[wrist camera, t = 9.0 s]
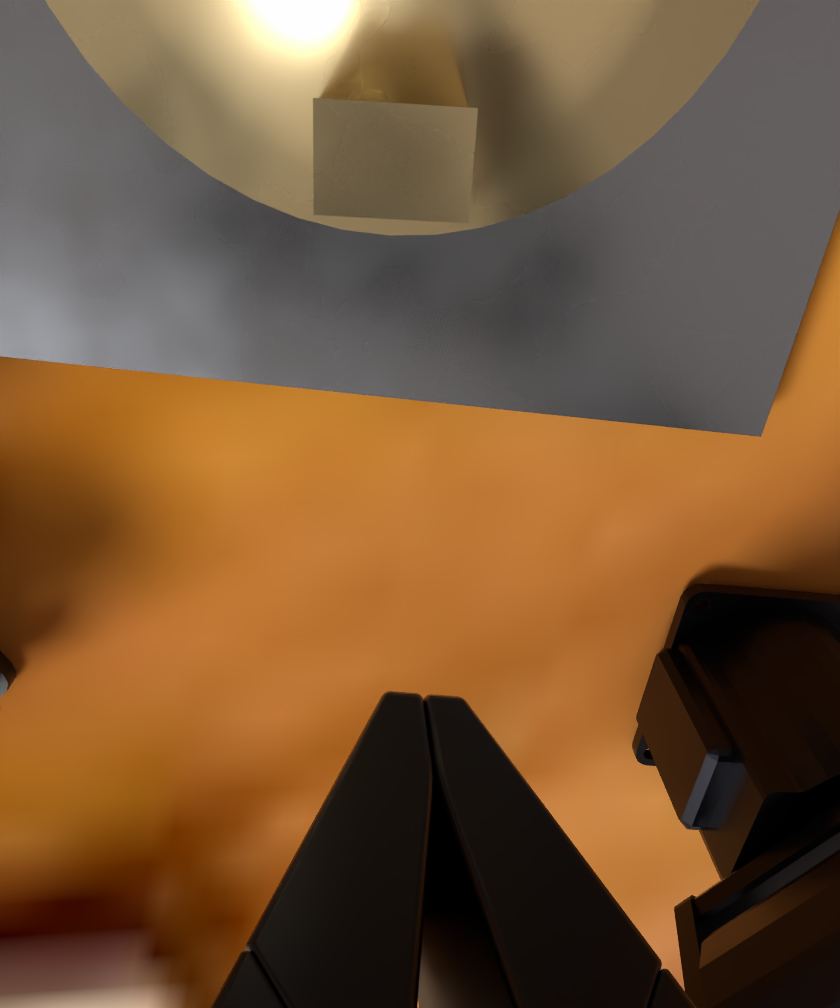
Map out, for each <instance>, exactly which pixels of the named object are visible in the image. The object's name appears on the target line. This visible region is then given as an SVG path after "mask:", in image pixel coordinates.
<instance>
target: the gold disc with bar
mask: <svg viewBox="0 0 840 1008" xmlns="http://www.w3.org/2000/svg"><path fill="white" fill-rule="evenodd" d="M45 1H46V2H47V4H48V6H49V8H50V9H51V10H52V12H53V13H54V15H55V16H56V18H57V19H58V21H59V22H60V24H61V25H62V26H63V28H64V29H65V31H66V32H67V34H68V35H69V37H70V38H71V39H72V41H73V42H74V44H75V45H76V47H77V48H78V50H79V51H80V53H81V54H82V55H83V57H84V58H85V60H86V61H87V62H88V63H89V64H90V65H91V67H92V68H93V69H94V70H95V71H96V72H97V74H98V75H99V76H100V77H101V78H102V79H103V81H104V82H105V83H106V84H107V85H108V86H109V88H110V89H111V90H112V91H113V92H114V93H115V94H116V96H117V97H118V98H119V99H120V100H121V101H122V103H123V104H124V105H125V106H126V107H127V108H128V109H130V110H131V111H132V112H133V113H134V114H135V115H136V116H137V117H138V118H139V119H140V120H141V121H142V122H143V123H145V124H146V125H147V126H148V127H149V128H150V129H151V130H152V131H153V132H154V133H155V134H156V135H157V136H158V137H160V138H161V139H162V140H163V141H164V142H165V143H166V144H168V145H169V146H170V147H172V148H173V149H174V150H176V151H177V152H178V153H180V154H181V155H183V156H184V157H185V158H187V159H188V160H189V161H191V162H192V163H193V164H195V165H196V166H197V167H199V168H200V169H202V170H203V171H204V172H206V173H207V174H208V175H210V176H212V177H214V178H215V179H217V180H219V181H221V182H223V183H224V184H226V185H228V186H230V187H231V188H233V189H235V190H237V191H239V192H240V193H242V194H244V195H246V196H247V197H249V198H251V199H253V200H255V201H258V202H260V203H263V204H265V205H267V206H270V207H272V208H275V209H277V210H280V211H282V212H285V213H287V214H290V215H292V216H294V217H297V218H300V219H304V220H308V221H312V222H316V223H319V224H323V225H327V226H331V227H335V228H338V229H342V230H349V231H357V232H365V233H374V234H382V235H437V234H444V233H450V232H456V231H463V230H469V229H476V228H482V227H485V226H488V225H492V224H495V223H499V222H502V221H505V220H509V219H512V218H515V217H519V216H522V215H526V214H528V213H530V212H532V211H535V210H537V209H539V208H541V207H543V206H546V205H548V204H550V203H552V202H555V201H557V200H559V199H561V198H564V197H566V196H568V195H570V194H572V193H573V192H575V191H577V190H578V189H580V188H582V187H583V186H585V185H586V184H588V183H590V182H591V181H593V180H595V179H596V178H598V177H600V176H601V175H603V174H604V173H606V172H608V171H609V170H611V169H612V168H614V167H615V166H616V165H617V164H619V163H620V162H621V161H623V160H624V159H625V158H626V157H628V156H629V155H630V154H631V153H633V152H634V151H635V150H636V149H638V148H639V147H640V146H641V145H643V144H644V143H645V142H647V141H648V140H649V139H650V138H652V137H653V136H654V135H655V134H656V133H657V132H658V131H659V130H660V129H661V128H662V127H663V126H664V125H665V124H666V123H667V122H668V121H669V120H670V119H671V118H672V117H673V116H674V115H675V114H676V113H677V112H678V111H679V110H680V109H681V108H682V107H683V106H684V105H685V104H686V103H687V102H688V101H689V100H690V99H691V97H692V96H693V95H694V94H695V92H696V91H697V90H698V89H699V87H700V86H701V85H702V84H703V82H704V81H705V80H706V79H707V77H708V76H709V75H710V74H711V72H712V71H713V70H714V68H715V67H716V66H717V65H718V63H719V62H720V61H721V60H722V58H723V57H724V56H725V55H726V53H727V52H728V50H729V49H730V47H731V45H732V44H733V42H734V41H735V39H736V38H737V36H738V35H739V33H740V31H741V30H742V28H743V27H744V25H745V24H746V22H747V20H748V19H749V17H750V16H751V14H752V13H753V11H754V9H755V8H756V6H757V5H758V3H759V1H760V0H45Z"/></svg>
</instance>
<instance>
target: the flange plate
mask: <svg viewBox="0 0 840 1008" xmlns="http://www.w3.org/2000/svg"><path fill="white" fill-rule="evenodd" d="M839 211H840V0H760V1H759V3H758V5H757V6H756V8H755V9H754V11H753V13H752V14H751V16H750V17H749V19H748V20H747V22H746V24H745V25H744V27H743V28H742V30H741V31H740V33H739V35H738V36H737V38H736V39H735V41H734V42H733V44H732V45H731V47H730V49H729V50H728V52H727V53H726V55H725V56H724V57H723V58H722V60H721V61H720V62H719V63H718V65H717V66H716V67H715V68H714V70H713V71H712V72H711V74H710V75H709V76H708V77H707V79H706V80H705V81H704V82H703V84H702V85H701V86H700V87H699V89H698V90H697V91H696V92H695V94H694V95H693V96H692V97H691V99H690V100H689V101H688V102H687V103H686V104H685V105H684V106H683V107H682V108H681V109H680V110H679V111H678V112H677V113H676V114H675V115H674V116H673V117H672V118H671V119H670V120H669V121H668V122H667V123H666V124H665V125H664V126H663V127H662V128H661V129H660V130H659V131H658V132H657V133H656V134H655V135H654V136H653V137H652V138H650V139H649V140H648V141H647V142H645V143H644V144H643V145H641V146H640V147H639V148H638V149H636V150H635V151H634V152H633V153H631V154H630V155H629V156H628V157H626V158H625V159H624V160H623V161H621V162H620V163H619V164H617V165H616V166H615V167H614V168H612V169H611V170H609V171H608V172H606V173H604V174H603V175H601V176H600V177H598V178H596V179H595V180H593V181H591V182H590V183H588V184H586V185H585V186H583V187H582V188H580V189H578V190H577V191H575V192H573V193H572V194H570V195H568V196H566V197H564V198H561V199H559V200H557V201H555V202H552V203H550V204H548V205H546V206H543V207H541V208H539V209H537V210H535V211H532V212H530V213H528V214H526V215H522V216H519V217H515V218H512V219H509V220H505V221H502V222H499V223H495V224H492V225H488V226H485V227H482V228H476V229H469V230H463V231H456V232H450V233H444V234H437V235H382V234H374V233H365V232H357V231H349V230H342V229H338V228H335V227H331V226H327V225H323V224H319V223H316V222H312V221H308V220H304V219H300V218H297V217H294V216H292V215H290V214H287V213H285V212H282V211H280V210H277V209H275V208H272V207H270V206H267V205H265V204H263V203H260V202H258V201H255V200H253V199H251V198H249V197H247V196H246V195H244V194H242V193H240V192H239V191H237V190H235V189H233V188H231V187H230V186H228V185H226V184H224V183H223V182H221V181H219V180H217V179H215V178H214V177H212V176H210V175H208V174H207V173H206V172H204V171H203V170H202V169H200V168H199V167H197V166H196V165H195V164H193V163H192V162H191V161H189V160H188V159H187V158H185V157H184V156H183V155H181V154H180V153H178V152H177V151H176V150H174V149H173V148H172V147H170V146H169V145H168V144H166V143H165V142H164V141H163V140H162V139H161V138H160V137H158V136H157V135H156V134H155V133H154V132H153V131H152V130H151V129H150V128H149V127H148V126H147V125H146V124H145V123H143V122H142V121H141V120H140V119H139V118H138V117H137V116H136V115H135V114H134V113H133V112H132V111H131V110H130V109H128V108H127V107H126V106H125V105H124V104H123V103H122V101H121V100H120V99H119V98H118V97H117V96H116V94H115V93H114V92H113V91H112V90H111V89H110V88H109V86H108V85H107V84H106V83H105V82H104V81H103V79H102V78H101V77H100V76H99V75H98V74H97V72H96V71H95V70H94V69H93V68H92V67H91V65H90V64H89V63H88V62H87V61H86V60H85V58H84V57H83V55H82V54H81V53H80V51H79V50H78V48H77V47H76V45H75V44H74V42H73V41H72V39H71V38H70V37H69V35H68V34H67V32H66V31H65V29H64V28H63V26H62V25H61V24H60V22H59V21H58V19H57V18H56V16H55V15H54V13H53V12H52V10H51V9H50V8H49V6H48V4H47V2H46V1H45V0H0V356H2V357H11V358H21V359H30V360H40V361H49V362H59V363H68V364H78V365H87V366H97V367H106V368H116V369H125V370H135V371H144V372H153V373H163V374H172V375H182V376H191V377H201V378H210V379H220V380H229V381H239V382H248V383H258V384H267V385H277V386H286V387H296V388H305V389H315V390H324V391H333V392H343V393H352V394H362V395H371V396H381V397H390V398H400V399H409V400H419V401H428V402H438V403H447V404H457V405H466V406H476V407H485V408H495V409H504V410H513V411H523V412H532V413H542V414H551V415H561V416H570V417H580V418H589V419H599V420H608V421H618V422H627V423H637V424H646V425H656V426H665V427H675V428H684V429H693V430H703V431H712V432H722V433H731V434H741V435H750V436H760V437H761V435H762V432H763V430H764V427H765V424H766V421H767V418H768V415H769V412H770V409H771V406H772V404H773V401H774V398H775V395H776V392H777V389H778V386H779V383H780V381H781V378H782V375H783V372H784V369H785V366H786V363H787V360H788V357H789V355H790V352H791V349H792V346H793V343H794V340H795V337H796V334H797V332H798V329H799V326H800V323H801V320H802V317H803V314H804V311H805V308H806V306H807V303H808V300H809V297H810V294H811V291H812V288H813V285H814V283H815V280H816V277H817V274H818V271H819V268H820V265H821V262H822V260H823V257H824V254H825V251H826V248H827V245H828V242H829V239H830V236H831V234H832V231H833V228H834V225H835V222H836V219H837V216H838V213H839Z"/></svg>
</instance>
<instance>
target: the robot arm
mask: <svg viewBox="0 0 840 1008" xmlns="http://www.w3.org/2000/svg"><path fill="white" fill-rule="evenodd" d="M700 599H706V600H705V602H704V603H703V604H701V605H699V606H694V605H695V603H696V602H697V601H699V600H700ZM636 719H637V722H638V724H639V725H638V728H637V731H636V734H635V737H634V740H633V743H632V749H633V751H634V754H635V756H636V759H637V761H638V762H640V763H641V764H644V765H650V766H656V767H657V769H658V771H659V774H660V776H661V778H662V781H663V783H664V785H665V788H666V790H667V793H668V795H669V797H670V800H671V802H672V804H673V807H674V809H675V812H676V814H677V816H678V819H679V820H680V822H681V823H682V824H683V825H684V826H685V828H686V829H692V830H699V832H700V834H701V836H702V838H703V841H704V843H705V845H706V847H707V850H708V852H709V854H710V856H711V859H712V861H713V863H714V865H715V868H716V870H717V872H718V874H719V877H720V879H721V881H719V882H718V883H716V884H715V885H713V886H712V887H710V888H709V889H708V890H706V891H705V892H703V893H702V894H700V895H699V896H697V897H695V896H693V895H691V896H690V897H688V898H687V899H685V900H684V901H682V902H681V903H679V904H678V905H677V906H675V907H674V912H675V919H676V927H677V934H678V942H679V949H680V957H681V964H682V972H683V979H684V987H685V991H684V990H683V989H682V987H681V986H680V985H679V983H678V982H677V981H676V979H675V978H674V977H673V975H672V974H671V973H670V971H669V970H667V969H662V970H661V971H660V969H661V965H662V963H661V960H660V959H659V957H658V956H657V955H656V953H655V952H654V951H653V949H652V948H651V947H650V945H649V944H648V943H647V941H646V940H645V939H644V937H643V936H642V935H641V933H640V932H639V931H638V929H637V928H636V927H635V925H634V924H633V923H632V921H631V920H630V919H629V917H628V916H627V915H626V913H625V912H624V911H623V909H622V908H621V907H620V905H619V904H618V903H617V901H616V900H615V899H614V897H613V896H612V895H611V893H610V892H609V891H608V889H607V888H606V887H605V885H604V884H603V883H602V881H601V880H600V879H599V877H598V876H597V875H596V873H595V872H594V871H593V869H592V868H591V867H590V866H589V864H588V863H587V862H586V860H585V859H584V858H583V856H582V855H581V854H580V852H579V851H578V850H577V848H576V847H575V846H574V844H573V843H572V842H571V840H570V839H569V838H568V836H567V835H566V834H565V832H564V831H563V830H562V828H561V827H560V826H559V824H558V823H557V822H556V820H555V819H554V818H553V816H552V815H551V814H550V812H549V811H548V810H547V808H546V807H545V806H544V804H543V803H542V802H541V800H540V799H539V798H538V796H537V795H536V794H535V792H534V791H533V790H532V788H531V787H530V786H529V784H528V783H527V782H526V780H525V779H524V778H523V776H522V775H521V774H520V772H519V771H518V770H517V768H516V767H515V766H514V764H513V763H512V762H511V760H510V759H509V758H508V756H507V755H506V754H505V752H504V751H503V750H502V748H501V747H500V746H499V744H498V743H497V742H496V740H495V739H494V738H493V736H492V735H491V734H490V732H489V731H488V730H487V728H486V727H485V726H484V724H483V723H482V722H481V720H480V719H479V718H478V717H477V715H476V714H475V713H474V711H473V710H472V709H471V707H470V706H469V705H468V703H467V702H466V701H465V700H464V699H463V698H461V697H457V696H445V695H432V694H431V695H427V696H426V697H425V698H424V700H423V698H422V696H421V695H419V694H417V693H406V692H393V691H388V692H386V693H384V694H383V695H382V697H381V699H380V700H379V702H378V704H377V706H376V708H375V709H374V711H373V713H372V715H371V717H370V719H369V720H368V722H367V724H366V726H365V728H364V730H363V731H362V733H361V735H360V737H359V739H358V741H357V742H356V744H355V746H354V748H353V750H352V752H351V753H350V755H349V757H348V759H347V761H346V763H345V764H344V766H343V768H342V770H341V772H340V773H339V775H338V777H337V779H336V781H335V783H334V784H333V786H332V788H331V790H330V792H329V794H328V795H327V797H326V799H325V801H324V803H323V805H322V806H321V808H320V810H319V812H318V814H317V816H316V817H315V819H314V821H313V823H312V825H311V827H310V828H309V830H308V832H307V834H306V836H305V837H304V839H303V841H302V843H301V845H300V847H299V848H298V850H297V852H296V854H295V856H294V858H293V859H292V861H291V863H290V865H289V867H288V869H287V870H286V872H285V874H284V876H283V878H282V880H281V881H280V883H279V885H278V887H277V889H276V891H275V892H274V894H273V896H272V898H271V900H270V901H269V903H268V905H267V907H266V909H265V911H264V912H263V914H262V916H261V918H260V920H259V922H258V923H257V925H256V927H255V929H254V931H253V933H252V934H251V936H250V938H249V940H248V942H247V944H246V951H243V952H241V954H240V955H239V957H238V959H237V961H236V963H235V964H234V966H233V968H232V970H231V972H230V973H229V975H228V977H227V979H226V981H225V983H224V984H223V986H222V988H221V990H220V992H219V993H218V995H217V997H216V999H215V1000H214V1002H213V1004H212V1005H211V1007H210V1008H417V1003H418V1001H419V1008H840V595H831V594H819V593H807V592H795V591H784V590H772V589H760V588H748V587H737V586H725V585H713V584H695V585H693V586H690V587H688V588H687V589H686V590H685V591H684V592H683V594H682V595H681V597H680V600H679V603H678V606H677V609H676V612H675V615H674V618H673V622H672V625H671V628H670V631H669V634H668V637H667V640H666V643H665V646H664V648H663V649H662V650H661V651H660V652H659V653H658V654H657V655H656V658H655V661H654V664H653V667H652V670H651V673H650V676H649V679H648V682H647V685H646V688H645V691H644V694H643V697H642V700H641V703H640V707H639V710H638V713H637V716H636ZM648 748H649V750H646V749H648Z"/></svg>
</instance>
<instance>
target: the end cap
mask: <svg viewBox="0 0 840 1008" xmlns="http://www.w3.org/2000/svg"><path fill="white" fill-rule="evenodd" d="M15 673H16V671H15V669H14V667H13V665H12V663H11V662H10V661H9V660H8V659H7V658H6V656H5V655H4V654H3V653H2V652H1V651H0V697H1V696H2V695H3V694H4V693H5V692H7V690H8V689H9V687H10V685H11V684H12V682H13V681H14V678H15Z"/></svg>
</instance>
